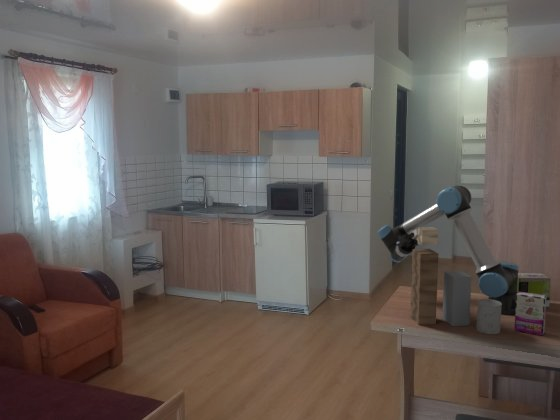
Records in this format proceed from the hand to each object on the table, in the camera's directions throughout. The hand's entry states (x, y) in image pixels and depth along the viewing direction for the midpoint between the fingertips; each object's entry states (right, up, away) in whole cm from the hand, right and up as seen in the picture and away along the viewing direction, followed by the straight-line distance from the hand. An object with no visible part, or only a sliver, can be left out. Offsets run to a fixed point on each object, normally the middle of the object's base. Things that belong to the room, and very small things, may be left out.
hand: (421, 231), depth 233 cm
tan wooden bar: (0, -4, 0) cm, 4 cm away
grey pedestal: (+15, -41, -1) cm, 43 cm away
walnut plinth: (+1, -40, 0) cm, 40 cm away
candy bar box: (+42, -42, -13) cm, 61 cm away
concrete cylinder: (+26, -42, -11) cm, 51 cm away
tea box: (+60, -37, +22) cm, 74 cm away
